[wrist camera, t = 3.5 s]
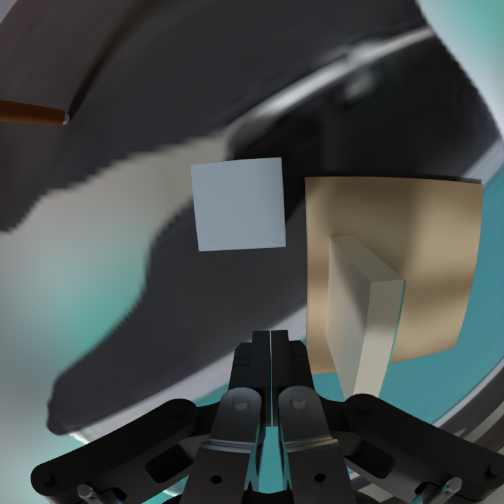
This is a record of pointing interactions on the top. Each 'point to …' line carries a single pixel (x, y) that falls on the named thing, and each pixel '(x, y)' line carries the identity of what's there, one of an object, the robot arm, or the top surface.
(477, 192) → the cork mat
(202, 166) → the block
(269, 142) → the top surface
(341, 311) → the tile
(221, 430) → the robot arm
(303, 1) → the top surface
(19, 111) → the magnifying glass
